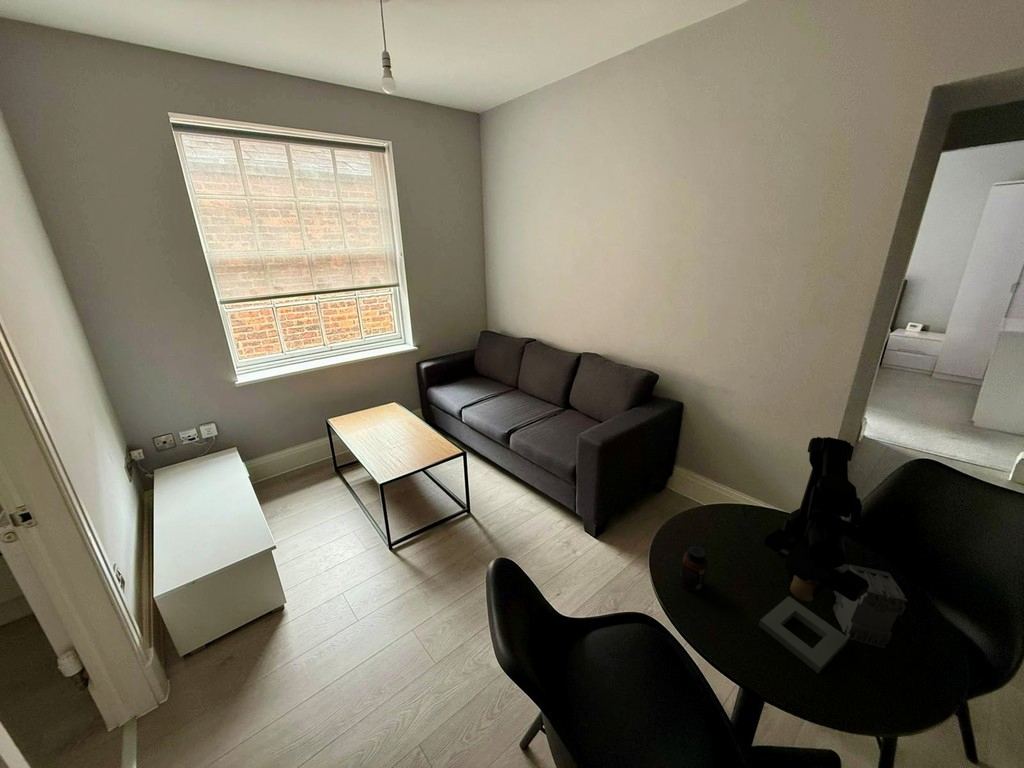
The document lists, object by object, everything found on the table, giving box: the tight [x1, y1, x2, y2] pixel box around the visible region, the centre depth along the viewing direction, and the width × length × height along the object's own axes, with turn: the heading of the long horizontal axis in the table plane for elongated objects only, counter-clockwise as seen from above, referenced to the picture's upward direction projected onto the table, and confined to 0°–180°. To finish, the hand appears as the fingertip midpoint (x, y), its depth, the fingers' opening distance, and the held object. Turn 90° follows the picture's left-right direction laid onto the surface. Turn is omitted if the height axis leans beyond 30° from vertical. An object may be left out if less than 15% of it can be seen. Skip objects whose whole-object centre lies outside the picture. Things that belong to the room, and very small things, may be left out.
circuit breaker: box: [832, 563, 908, 649], centre depth 95 cm, size 8×14×15 cm, turn 161°
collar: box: [758, 595, 850, 674], centre depth 93 cm, size 13×13×2 cm
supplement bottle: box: [679, 545, 709, 592], centre depth 105 cm, size 6×6×11 cm
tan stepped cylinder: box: [789, 575, 819, 602], centre depth 90 cm, size 4×4×6 cm
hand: (803, 589), depth 91 cm, fingers closed on tan stepped cylinder, 4 cm apart
